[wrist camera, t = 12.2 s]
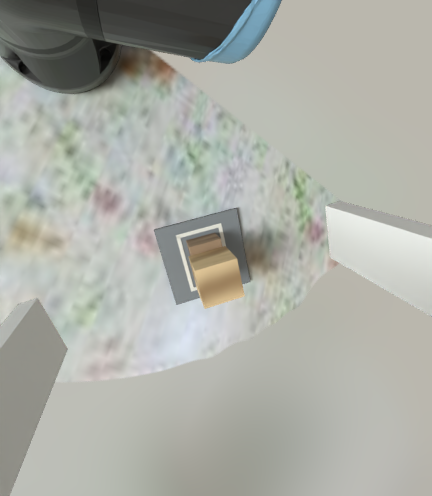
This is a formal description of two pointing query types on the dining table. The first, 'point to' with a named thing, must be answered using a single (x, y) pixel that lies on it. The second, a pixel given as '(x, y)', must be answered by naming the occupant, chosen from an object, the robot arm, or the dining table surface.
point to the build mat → (177, 250)
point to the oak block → (216, 276)
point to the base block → (203, 243)
